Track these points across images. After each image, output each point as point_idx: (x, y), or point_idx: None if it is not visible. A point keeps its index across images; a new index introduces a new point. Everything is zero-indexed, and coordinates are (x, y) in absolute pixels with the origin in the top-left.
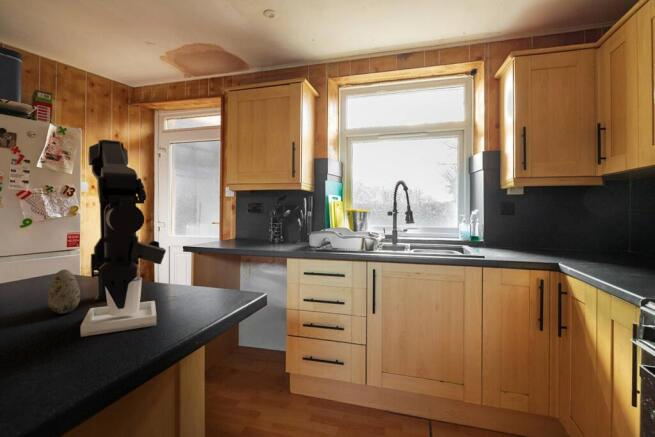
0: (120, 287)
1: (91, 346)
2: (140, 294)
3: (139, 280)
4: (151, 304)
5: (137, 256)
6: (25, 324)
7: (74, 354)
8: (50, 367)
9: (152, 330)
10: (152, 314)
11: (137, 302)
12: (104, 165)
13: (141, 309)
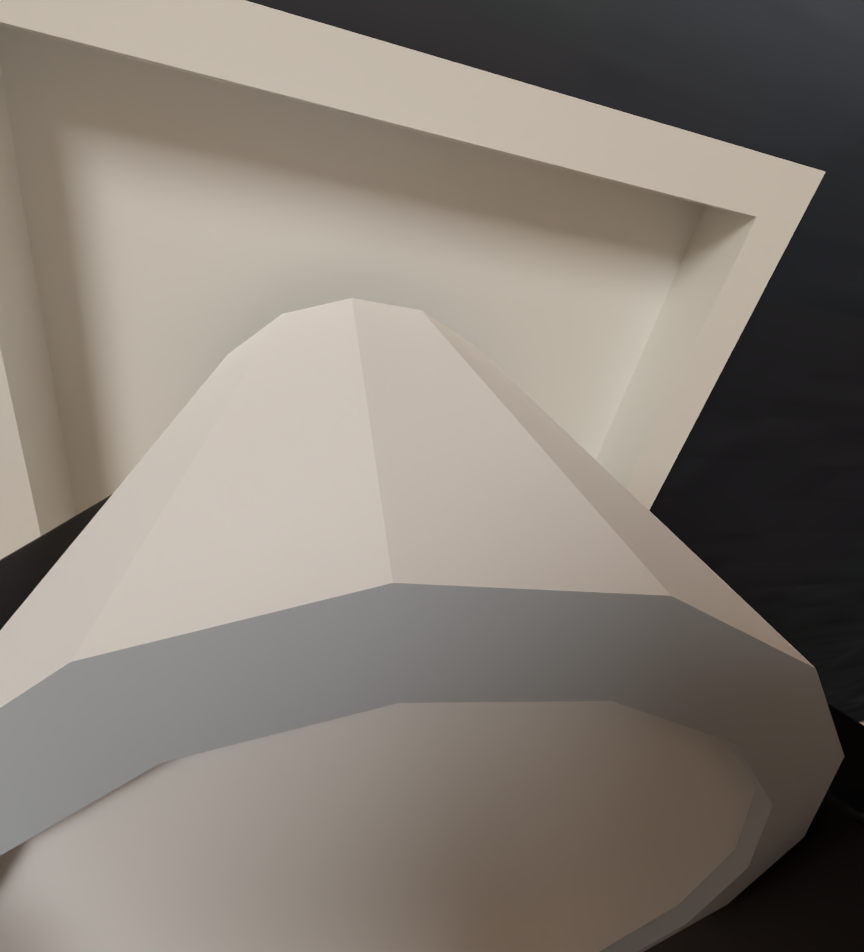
0: None
1: (741, 579)
2: (484, 378)
3: (785, 642)
4: (161, 57)
5: None
6: None
7: (772, 624)
8: (819, 668)
9: (833, 236)
10: (738, 201)
11: (517, 386)
12: None
13: (48, 197)
